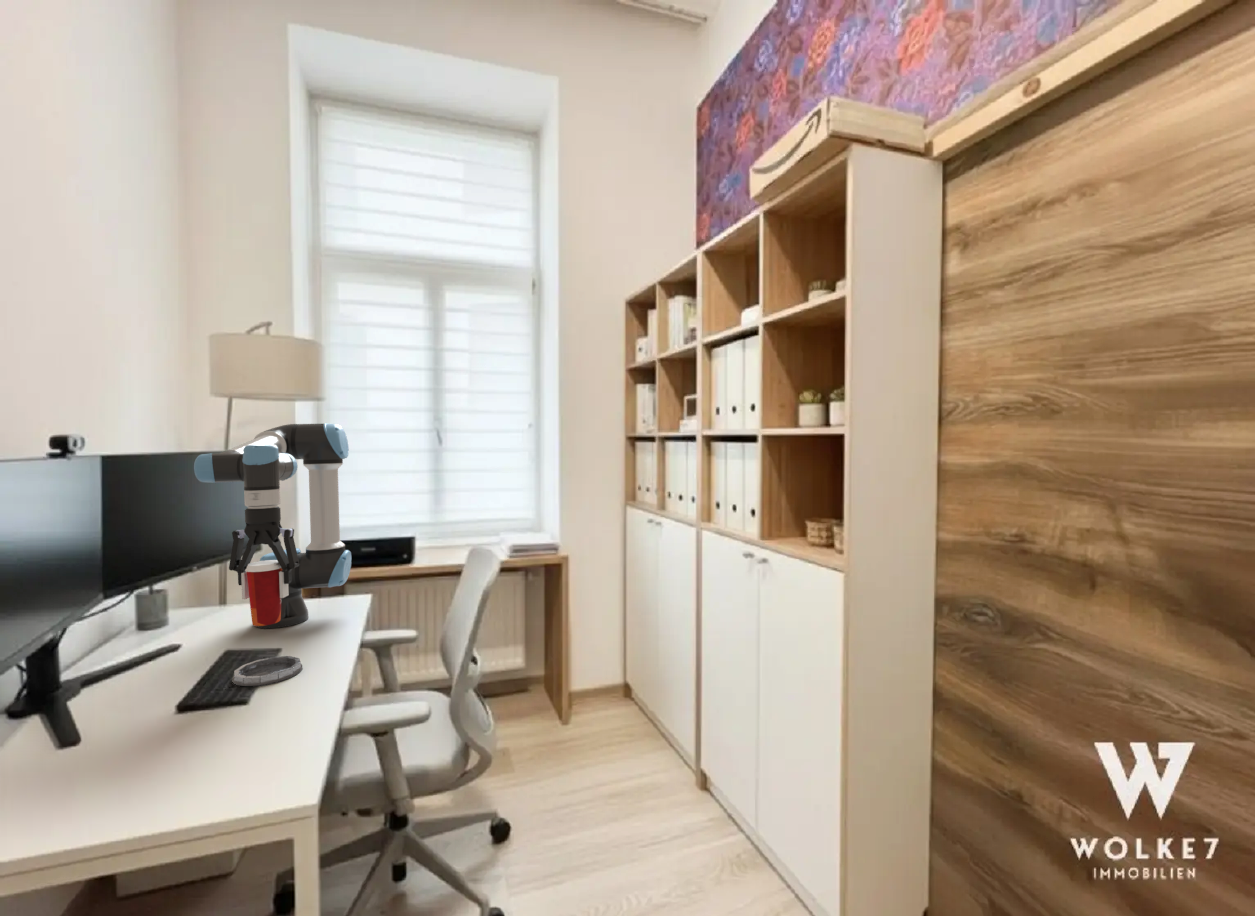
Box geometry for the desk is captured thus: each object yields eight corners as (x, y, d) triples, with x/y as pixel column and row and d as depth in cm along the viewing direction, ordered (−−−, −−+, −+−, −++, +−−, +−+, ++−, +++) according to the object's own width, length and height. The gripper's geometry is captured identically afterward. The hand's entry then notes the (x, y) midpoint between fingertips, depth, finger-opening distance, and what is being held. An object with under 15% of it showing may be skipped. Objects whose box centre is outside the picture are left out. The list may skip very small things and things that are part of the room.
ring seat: (254, 664, 152) (254, 656, 152) (313, 661, 153) (313, 654, 153) (217, 688, 137) (217, 680, 137) (283, 685, 138) (283, 677, 138)
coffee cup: (293, 617, 148) (291, 559, 148) (270, 627, 140) (268, 566, 139) (262, 617, 149) (260, 559, 148) (238, 627, 141) (235, 566, 140)
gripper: (208, 509, 139) (211, 602, 140) (299, 507, 141) (301, 599, 141) (227, 506, 147) (230, 594, 147) (313, 504, 148) (316, 592, 149)
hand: (265, 597), depth 144 cm, fingers closed on coffee cup, 8 cm apart
